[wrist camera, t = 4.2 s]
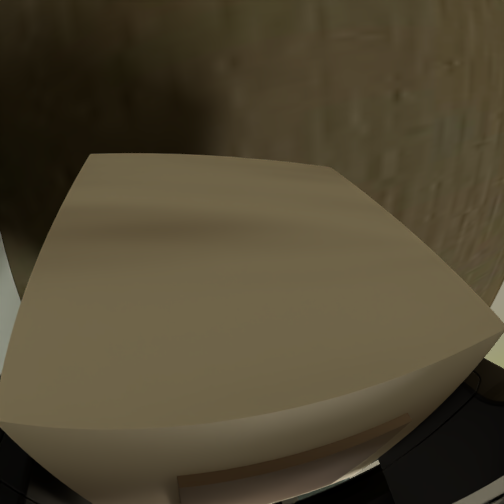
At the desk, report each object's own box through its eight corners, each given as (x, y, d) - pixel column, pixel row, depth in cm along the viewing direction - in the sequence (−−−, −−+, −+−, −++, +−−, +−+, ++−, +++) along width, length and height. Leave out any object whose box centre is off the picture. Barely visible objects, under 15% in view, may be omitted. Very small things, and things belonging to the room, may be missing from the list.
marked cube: (280, 326, 11) (355, 480, 6) (110, 337, 9) (125, 527, 4) (330, 167, 8) (512, 334, 3) (90, 153, 6) (-10, 437, 1)
